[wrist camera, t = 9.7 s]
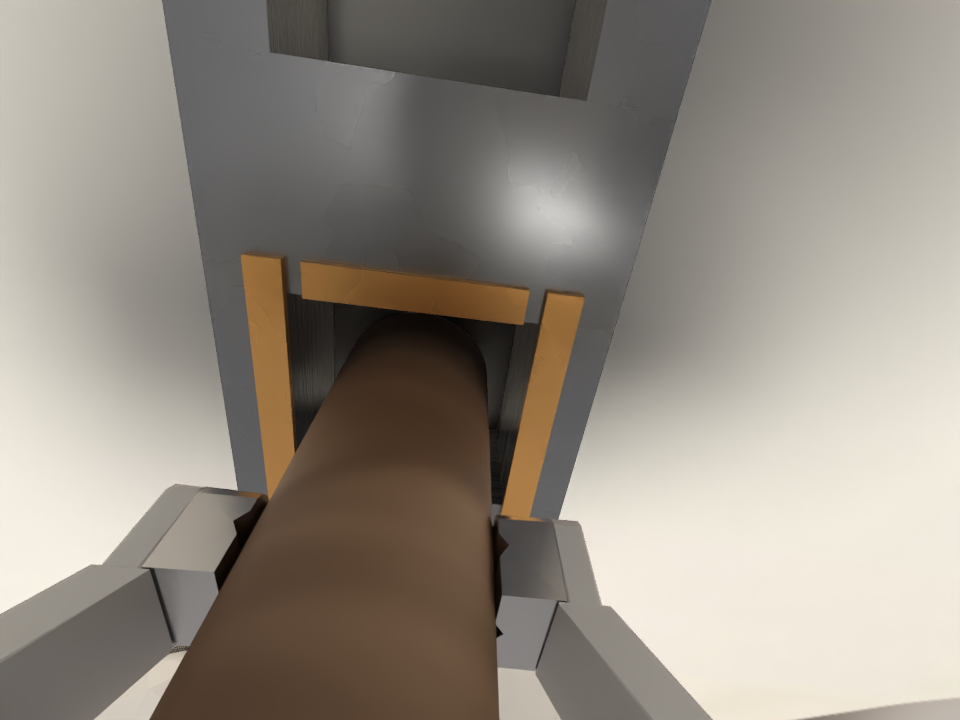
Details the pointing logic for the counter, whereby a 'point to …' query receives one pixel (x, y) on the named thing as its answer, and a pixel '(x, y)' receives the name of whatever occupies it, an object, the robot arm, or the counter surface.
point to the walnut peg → (366, 554)
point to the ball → (144, 692)
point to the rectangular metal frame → (420, 213)
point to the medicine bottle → (523, 696)
